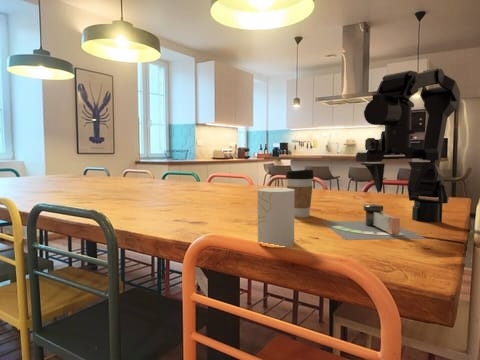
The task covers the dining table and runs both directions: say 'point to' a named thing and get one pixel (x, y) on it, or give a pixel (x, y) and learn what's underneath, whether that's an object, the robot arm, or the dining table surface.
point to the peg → (381, 219)
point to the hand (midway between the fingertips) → (396, 191)
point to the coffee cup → (301, 190)
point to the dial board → (366, 231)
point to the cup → (276, 216)
